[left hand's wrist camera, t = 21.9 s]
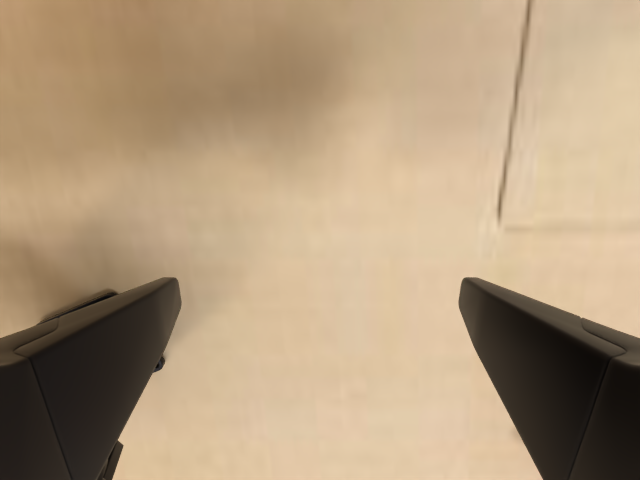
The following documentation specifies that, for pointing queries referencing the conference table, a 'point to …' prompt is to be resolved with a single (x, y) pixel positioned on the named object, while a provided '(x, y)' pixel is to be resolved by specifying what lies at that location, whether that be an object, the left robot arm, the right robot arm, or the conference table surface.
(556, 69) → the conference table surface
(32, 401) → the left robot arm
